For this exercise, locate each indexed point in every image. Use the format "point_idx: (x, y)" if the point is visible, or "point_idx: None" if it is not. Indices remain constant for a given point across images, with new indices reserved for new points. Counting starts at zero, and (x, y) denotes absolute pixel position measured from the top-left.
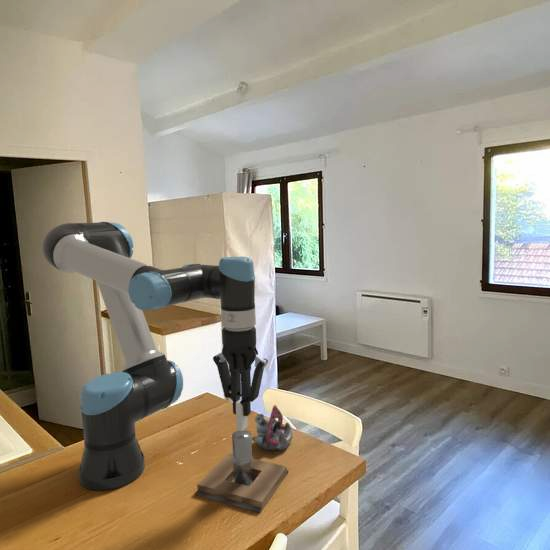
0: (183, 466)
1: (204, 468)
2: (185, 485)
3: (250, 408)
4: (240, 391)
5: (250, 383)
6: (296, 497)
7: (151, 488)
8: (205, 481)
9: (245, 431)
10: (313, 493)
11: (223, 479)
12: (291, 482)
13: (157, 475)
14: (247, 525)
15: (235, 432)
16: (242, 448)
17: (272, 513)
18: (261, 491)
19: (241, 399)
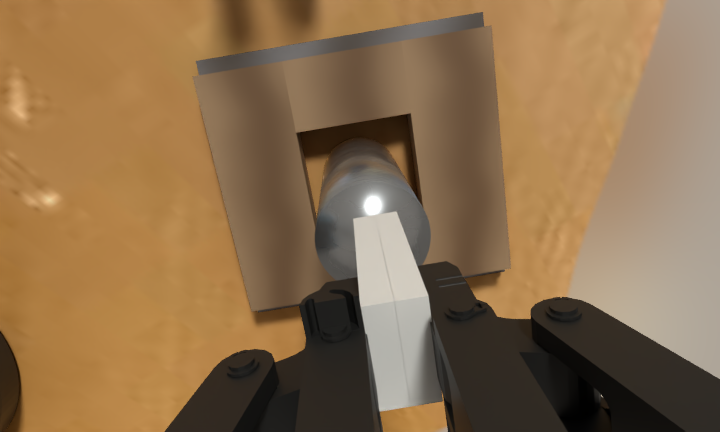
0: (80, 211)
1: (161, 176)
2: (188, 290)
3: (464, 281)
4: (367, 366)
5: (559, 425)
6: (575, 138)
7: (106, 359)
8: (263, 284)
9: (367, 195)
10: (624, 84)
11: (312, 240)
12: (521, 67)
13: (53, 302)
14: None
15: (322, 237)
16: None
17: (536, 248)
18: (480, 223)
19: (385, 334)
